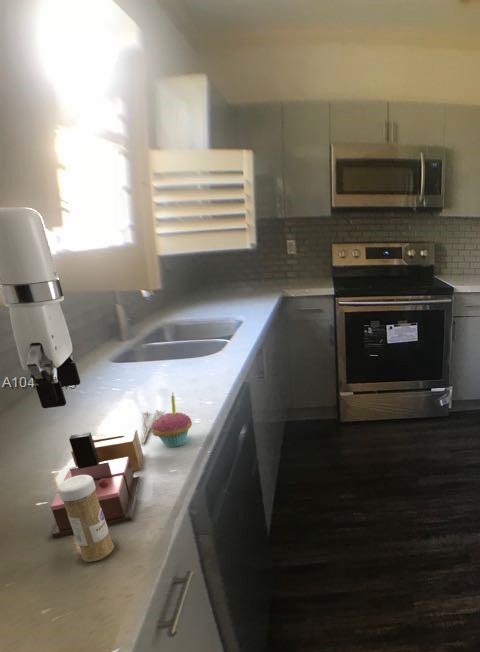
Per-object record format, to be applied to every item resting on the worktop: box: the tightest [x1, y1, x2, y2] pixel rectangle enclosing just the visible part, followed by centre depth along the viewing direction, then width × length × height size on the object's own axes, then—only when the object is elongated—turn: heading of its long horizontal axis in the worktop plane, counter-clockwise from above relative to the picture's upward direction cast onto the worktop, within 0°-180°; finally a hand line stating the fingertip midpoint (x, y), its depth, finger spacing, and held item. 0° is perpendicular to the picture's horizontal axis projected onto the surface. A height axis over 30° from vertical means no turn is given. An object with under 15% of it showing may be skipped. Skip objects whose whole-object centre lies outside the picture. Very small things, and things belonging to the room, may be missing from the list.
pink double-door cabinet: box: [50, 457, 142, 539], centre depth 84 cm, size 12×14×7 cm
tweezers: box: [141, 409, 162, 445], centre depth 115 cm, size 17×5×2 cm, turn 19°
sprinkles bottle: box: [57, 475, 115, 563], centre depth 71 cm, size 5×5×13 cm
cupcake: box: [151, 392, 193, 448], centre depth 105 cm, size 9×8×12 cm
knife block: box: [70, 428, 144, 473], centre depth 96 cm, size 11×6×7 cm, turn 111°
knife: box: [68, 431, 113, 481], centre depth 82 cm, size 6×2×14 cm, turn 111°
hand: (63, 395), depth 77 cm, fingers open, 9 cm apart
